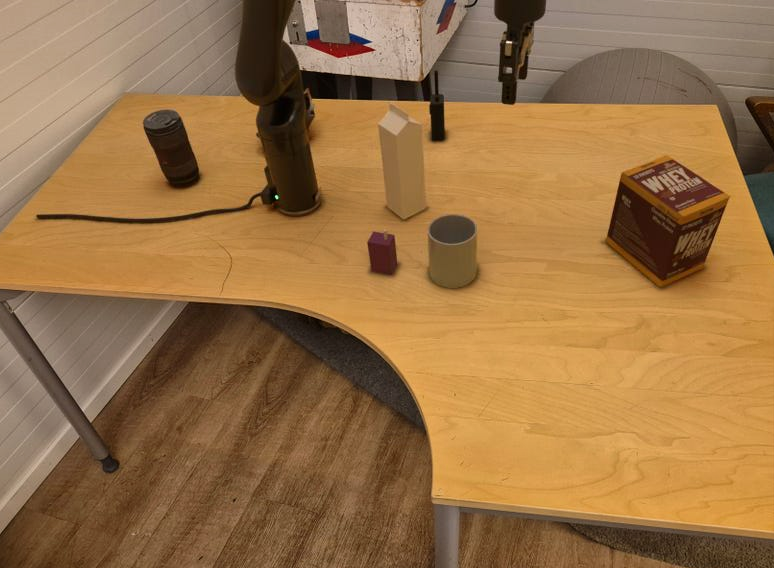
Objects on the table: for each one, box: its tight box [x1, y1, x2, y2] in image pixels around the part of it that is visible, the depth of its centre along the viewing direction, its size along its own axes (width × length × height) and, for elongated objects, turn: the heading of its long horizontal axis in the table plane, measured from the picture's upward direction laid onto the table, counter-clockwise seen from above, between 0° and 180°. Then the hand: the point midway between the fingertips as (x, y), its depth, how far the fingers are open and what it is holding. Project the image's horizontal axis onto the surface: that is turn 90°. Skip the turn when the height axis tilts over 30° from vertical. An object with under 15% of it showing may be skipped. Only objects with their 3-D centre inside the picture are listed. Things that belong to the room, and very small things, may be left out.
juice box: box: [366, 228, 398, 276], centre depth 116 cm, size 4×3×9 cm
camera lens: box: [142, 109, 200, 189], centre depth 138 cm, size 8×8×15 cm
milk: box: [377, 102, 427, 221], centre depth 124 cm, size 6×6×22 cm
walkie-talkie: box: [428, 70, 446, 142], centre depth 144 cm, size 5×3×15 cm
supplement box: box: [605, 155, 731, 288], centre depth 112 cm, size 10×15×16 cm
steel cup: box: [427, 213, 478, 289], centre depth 114 cm, size 9×9×10 cm
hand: (514, 90), depth 102 cm, fingers open, 8 cm apart
